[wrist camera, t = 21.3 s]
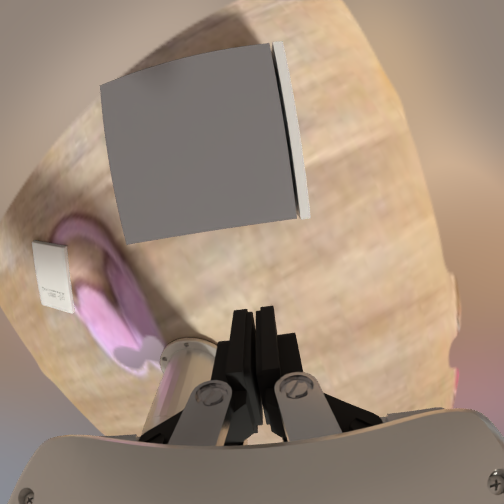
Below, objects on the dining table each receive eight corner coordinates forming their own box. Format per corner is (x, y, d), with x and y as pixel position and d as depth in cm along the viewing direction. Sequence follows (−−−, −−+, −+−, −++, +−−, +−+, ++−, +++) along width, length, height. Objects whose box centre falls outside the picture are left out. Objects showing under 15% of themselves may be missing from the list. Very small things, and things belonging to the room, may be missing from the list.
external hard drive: (68, 244, 40) (76, 310, 44) (36, 239, 40) (45, 300, 44) (63, 247, 38) (72, 314, 42) (30, 242, 38) (40, 304, 42)
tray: (297, 203, 36) (310, 218, 28) (164, 224, 38) (139, 243, 29) (276, 67, 31) (282, 41, 22) (143, 94, 32) (112, 79, 23)
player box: (286, 202, 37) (296, 218, 28) (156, 223, 38) (126, 244, 29) (266, 71, 31) (269, 43, 22) (135, 99, 33) (100, 85, 23)
